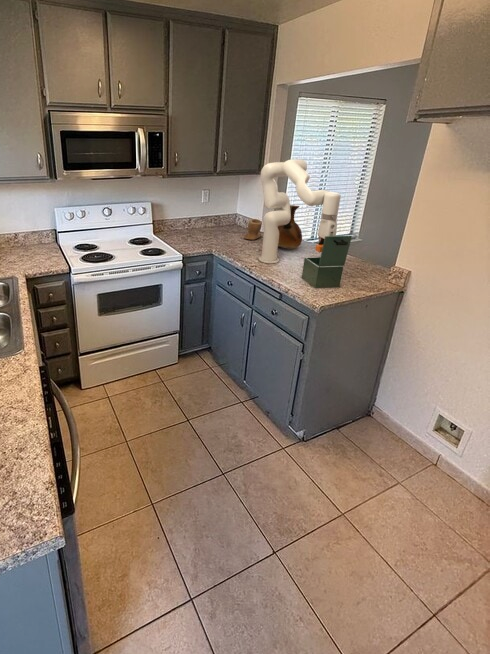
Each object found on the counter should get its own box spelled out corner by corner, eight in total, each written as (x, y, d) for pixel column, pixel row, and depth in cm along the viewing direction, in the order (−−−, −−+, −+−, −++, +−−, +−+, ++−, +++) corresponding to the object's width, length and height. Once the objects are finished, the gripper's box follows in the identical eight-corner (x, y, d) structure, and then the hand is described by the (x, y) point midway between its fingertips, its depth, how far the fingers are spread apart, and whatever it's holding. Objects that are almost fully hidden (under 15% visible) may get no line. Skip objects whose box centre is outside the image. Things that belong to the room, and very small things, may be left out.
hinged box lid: (325, 236, 176) (330, 240, 171) (351, 235, 177) (357, 239, 172) (318, 266, 183) (323, 270, 178) (343, 265, 184) (349, 269, 180)
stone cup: (255, 242, 266) (257, 222, 260) (241, 239, 273) (243, 219, 268) (264, 237, 276) (267, 218, 271) (251, 235, 284) (252, 216, 278)
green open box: (301, 277, 202) (304, 257, 197) (324, 276, 203) (327, 256, 199) (315, 288, 187) (318, 267, 183) (339, 287, 189) (343, 266, 184)
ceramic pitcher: (302, 245, 259) (308, 203, 248) (299, 253, 242) (305, 209, 231) (274, 241, 266) (279, 201, 255) (269, 249, 249) (274, 206, 238)
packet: (319, 252, 188) (320, 247, 187) (315, 250, 192) (315, 244, 191) (331, 252, 189) (332, 246, 188) (327, 249, 193) (328, 244, 192)
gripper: (345, 220, 176) (338, 255, 183) (327, 213, 192) (322, 245, 199) (330, 220, 176) (324, 256, 182) (314, 213, 191) (309, 246, 198)
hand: (323, 250), depth 190 cm, fingers closed on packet, 4 cm apart
